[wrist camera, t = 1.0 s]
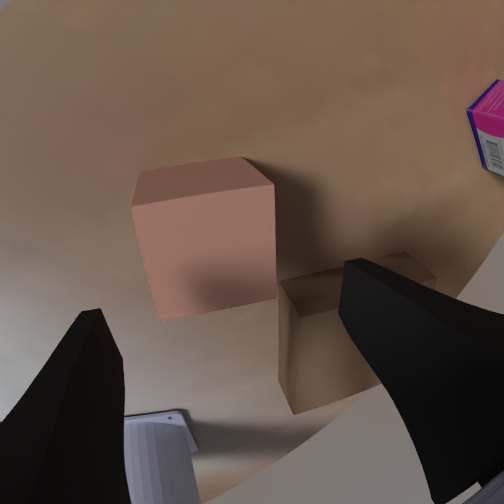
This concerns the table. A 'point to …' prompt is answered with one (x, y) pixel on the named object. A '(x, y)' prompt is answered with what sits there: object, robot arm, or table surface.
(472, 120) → the supplement box
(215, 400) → the table surface
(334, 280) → the walnut block
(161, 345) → the table surface
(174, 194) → the terracotta cube
